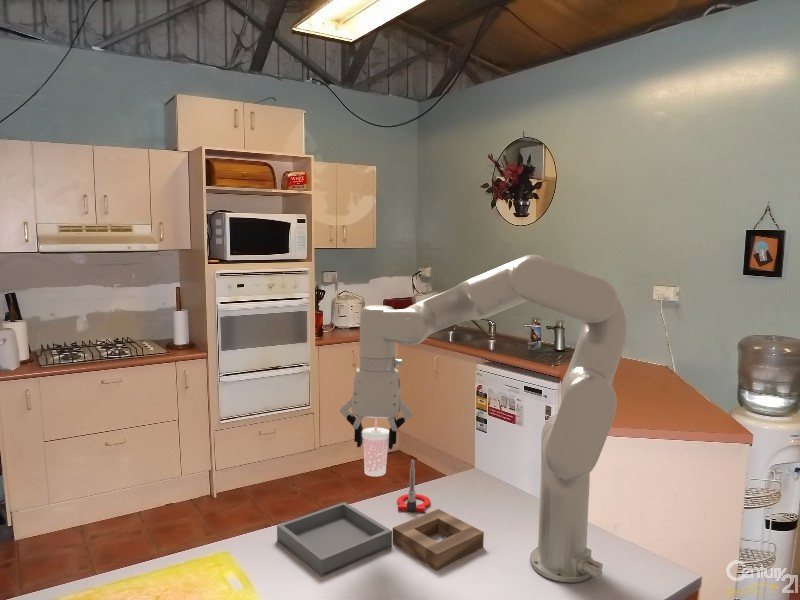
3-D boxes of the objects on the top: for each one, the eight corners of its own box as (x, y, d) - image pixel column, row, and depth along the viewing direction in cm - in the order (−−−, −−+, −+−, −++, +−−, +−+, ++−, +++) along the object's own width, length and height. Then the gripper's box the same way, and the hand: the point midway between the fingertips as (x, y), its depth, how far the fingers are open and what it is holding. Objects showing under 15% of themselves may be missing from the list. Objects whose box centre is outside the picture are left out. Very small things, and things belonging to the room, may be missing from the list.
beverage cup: (377, 464, 129) (378, 403, 128) (395, 473, 125) (396, 410, 123) (355, 471, 126) (356, 408, 124) (372, 480, 121) (373, 415, 119)
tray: (391, 546, 126) (392, 530, 126) (321, 576, 114) (321, 559, 114) (344, 515, 140) (344, 501, 139) (277, 540, 128) (276, 525, 128)
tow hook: (399, 497, 151) (394, 511, 142) (400, 448, 150) (395, 460, 141) (431, 499, 150) (428, 514, 141) (433, 450, 149) (429, 462, 140)
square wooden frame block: (483, 547, 126) (483, 532, 125) (436, 570, 117) (437, 554, 116) (438, 523, 136) (438, 508, 136) (392, 542, 127) (392, 527, 127)
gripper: (418, 362, 126) (416, 442, 128) (340, 358, 127) (339, 438, 129) (416, 369, 118) (414, 454, 120) (333, 366, 120) (332, 450, 122)
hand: (375, 445), depth 125 cm, fingers closed on beverage cup, 6 cm apart
